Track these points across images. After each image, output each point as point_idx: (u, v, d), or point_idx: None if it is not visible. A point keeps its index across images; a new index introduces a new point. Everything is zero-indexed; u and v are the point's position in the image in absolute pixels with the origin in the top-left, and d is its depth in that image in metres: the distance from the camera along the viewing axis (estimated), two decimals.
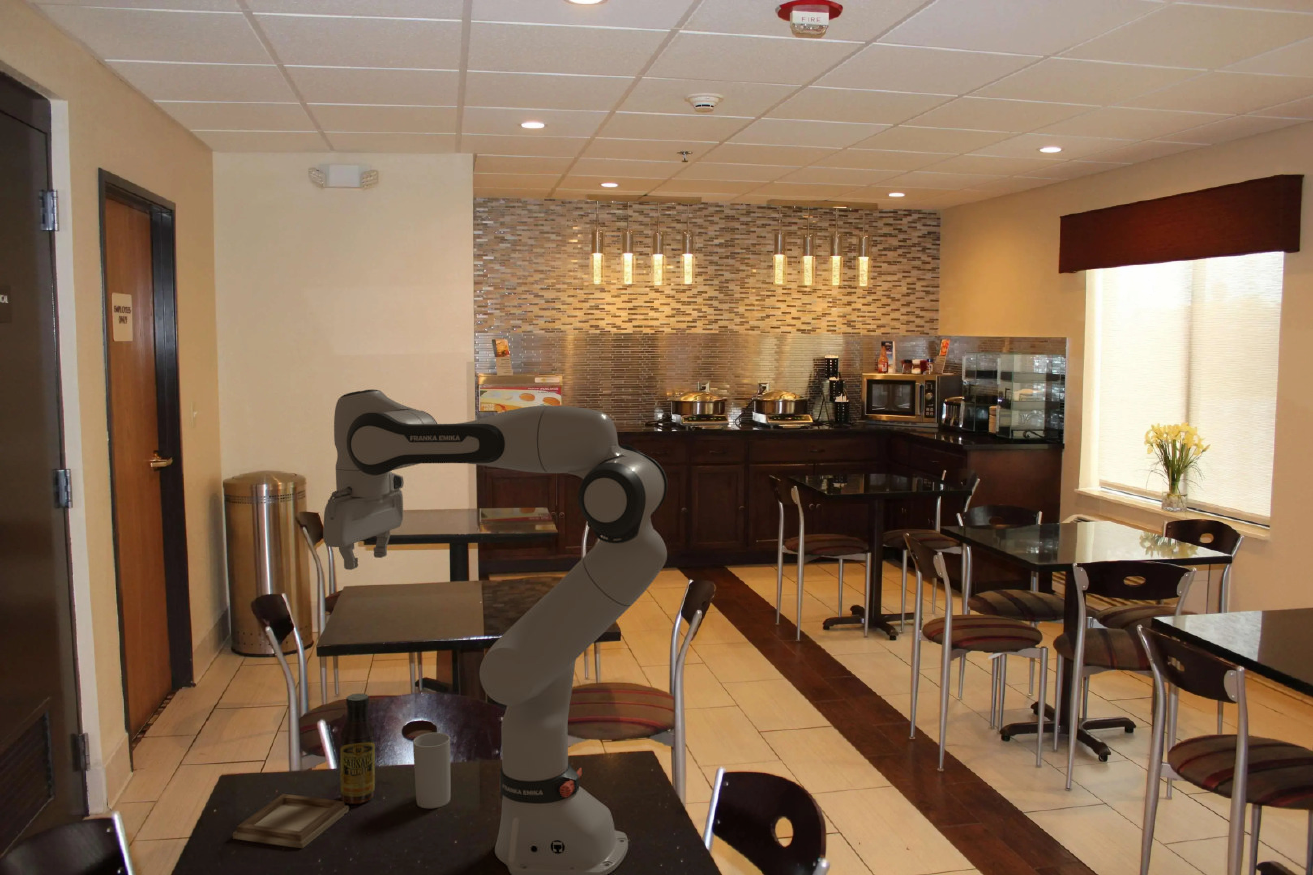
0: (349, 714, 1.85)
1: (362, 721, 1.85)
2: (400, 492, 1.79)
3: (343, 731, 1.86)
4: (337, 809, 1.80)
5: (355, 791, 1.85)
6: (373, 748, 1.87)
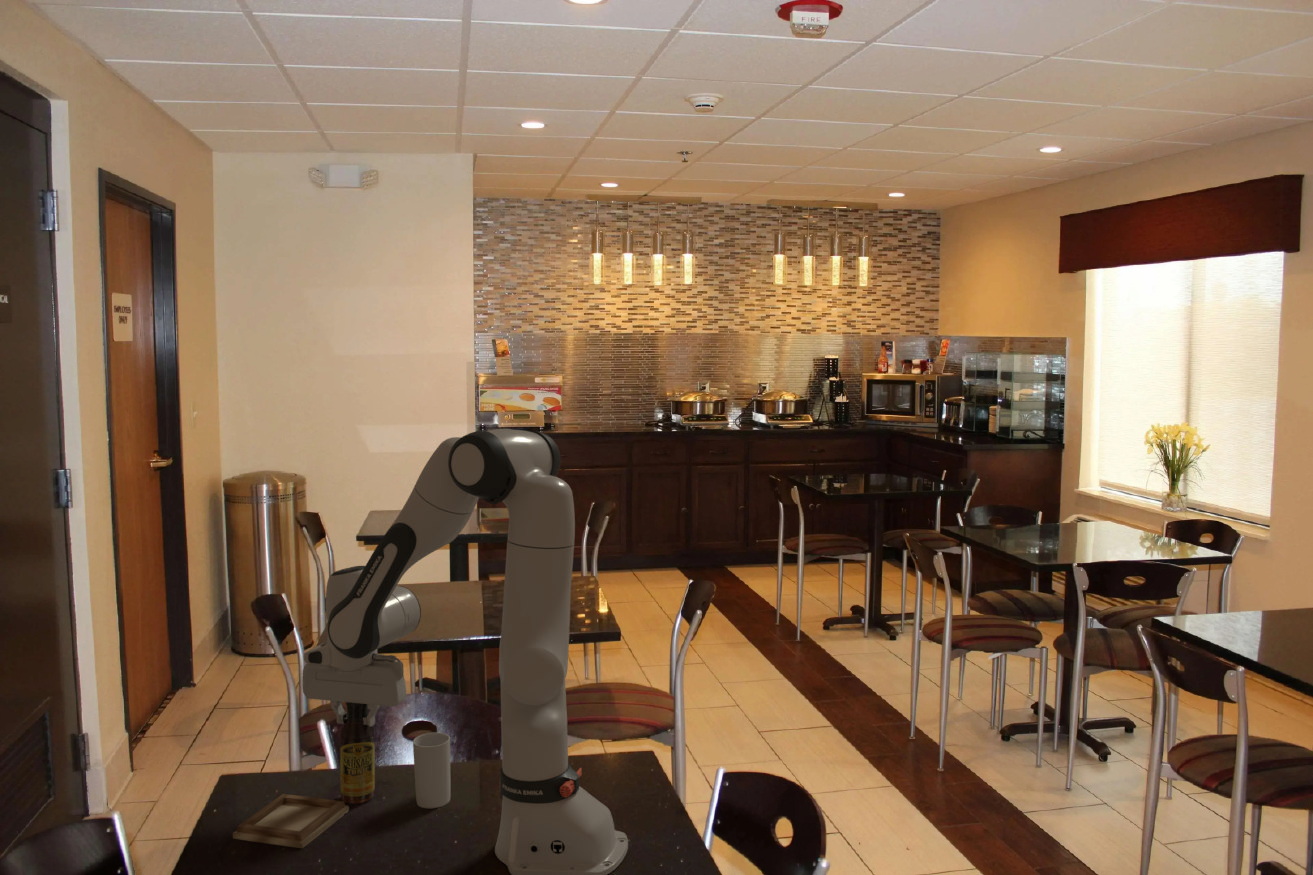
0: (349, 714, 1.85)
1: (362, 720, 1.85)
2: None
3: (343, 731, 1.86)
4: (337, 809, 1.80)
5: (355, 791, 1.85)
6: (373, 748, 1.87)
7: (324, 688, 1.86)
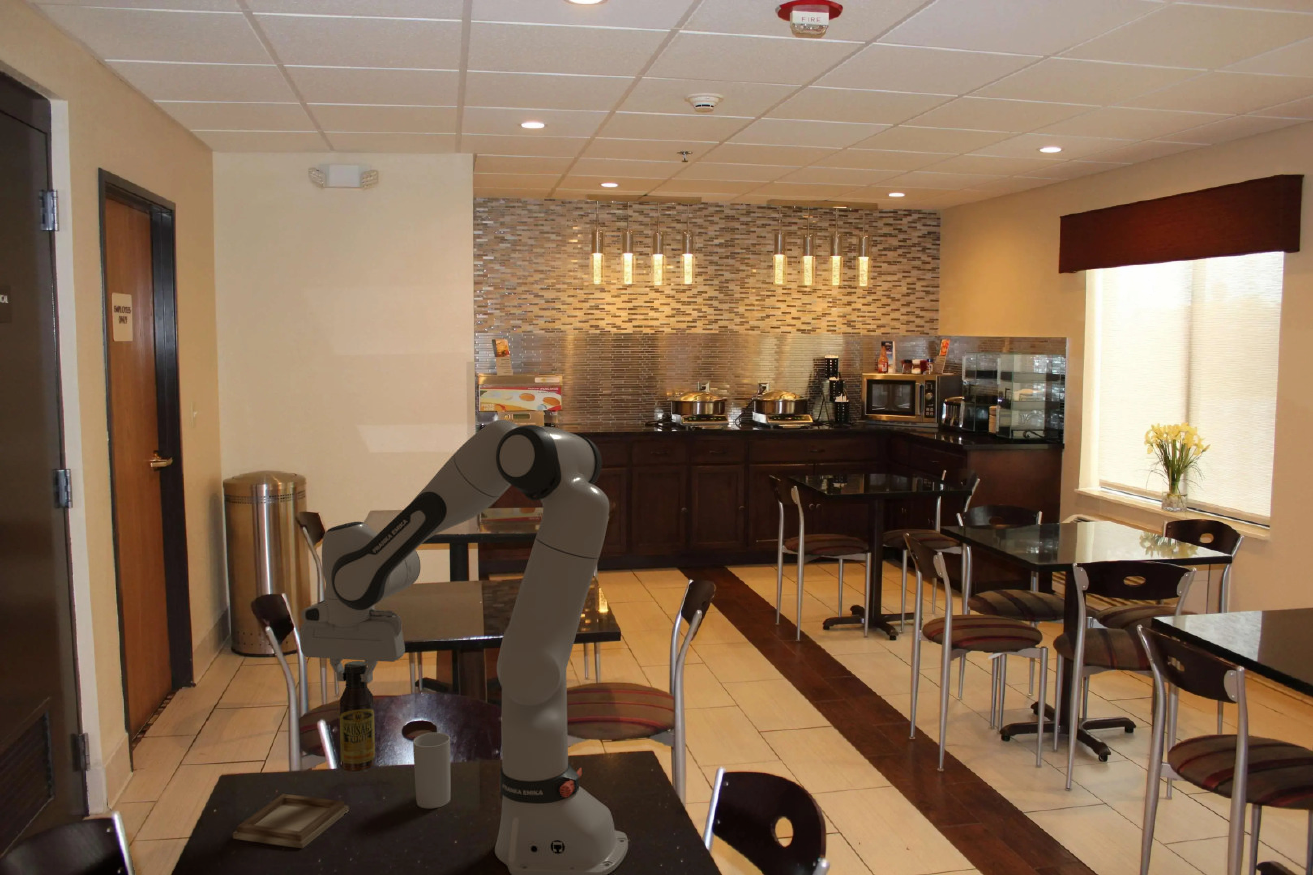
0: (348, 681, 1.85)
1: (361, 687, 1.85)
2: None
3: (342, 699, 1.85)
4: (337, 809, 1.80)
5: (356, 758, 1.84)
6: (372, 715, 1.87)
7: (322, 645, 1.85)
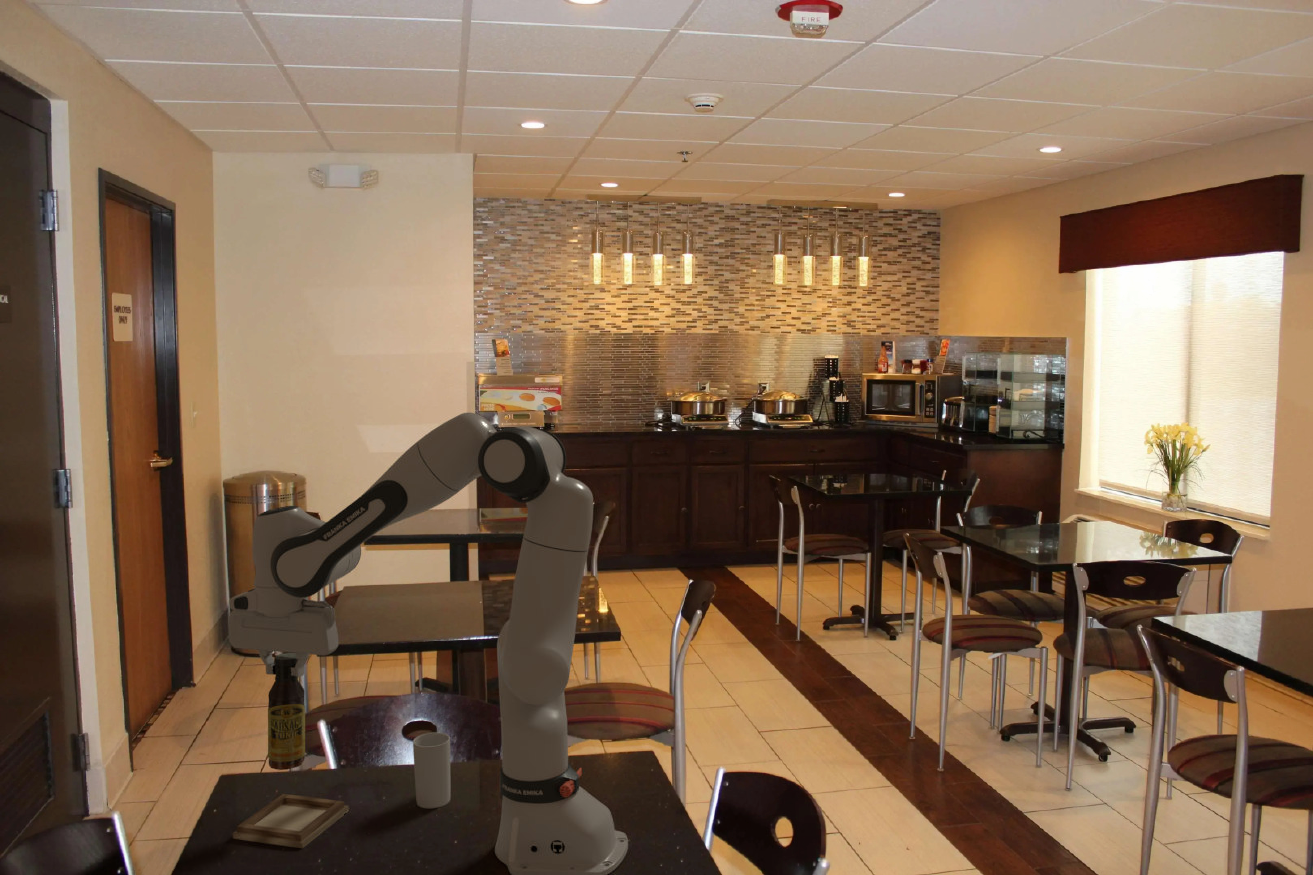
0: (277, 674, 1.74)
1: (291, 681, 1.75)
2: None
3: (271, 692, 1.75)
4: (337, 809, 1.80)
5: (284, 756, 1.74)
6: (303, 710, 1.76)
7: (251, 636, 1.75)
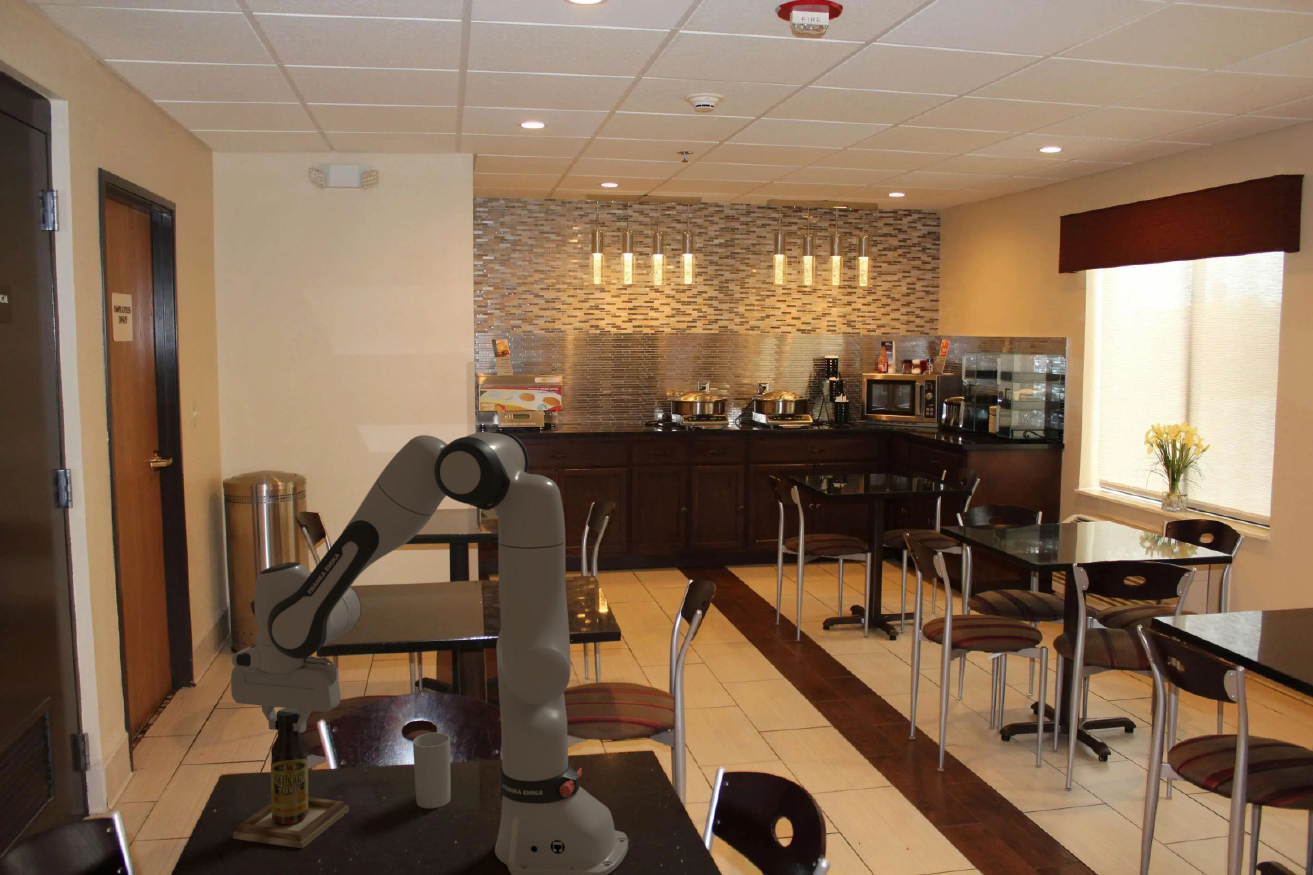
0: (280, 730, 1.75)
1: (293, 736, 1.76)
2: None
3: (273, 748, 1.76)
4: (337, 809, 1.80)
5: (287, 811, 1.75)
6: (306, 765, 1.77)
7: (253, 692, 1.75)
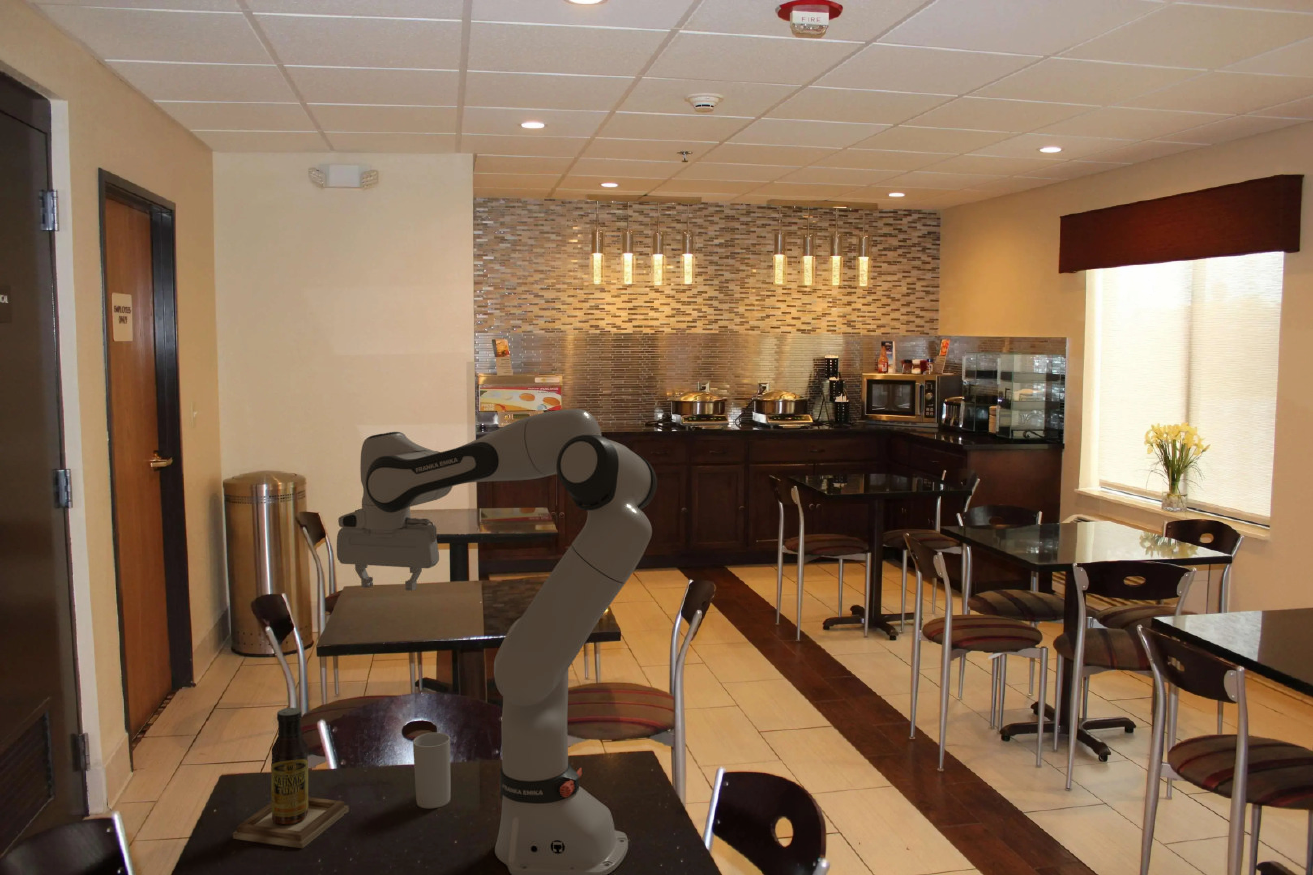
0: (280, 730, 1.75)
1: (294, 736, 1.76)
2: None
3: (274, 748, 1.76)
4: (337, 809, 1.80)
5: (287, 811, 1.75)
6: (306, 765, 1.77)
7: (358, 552, 1.89)
